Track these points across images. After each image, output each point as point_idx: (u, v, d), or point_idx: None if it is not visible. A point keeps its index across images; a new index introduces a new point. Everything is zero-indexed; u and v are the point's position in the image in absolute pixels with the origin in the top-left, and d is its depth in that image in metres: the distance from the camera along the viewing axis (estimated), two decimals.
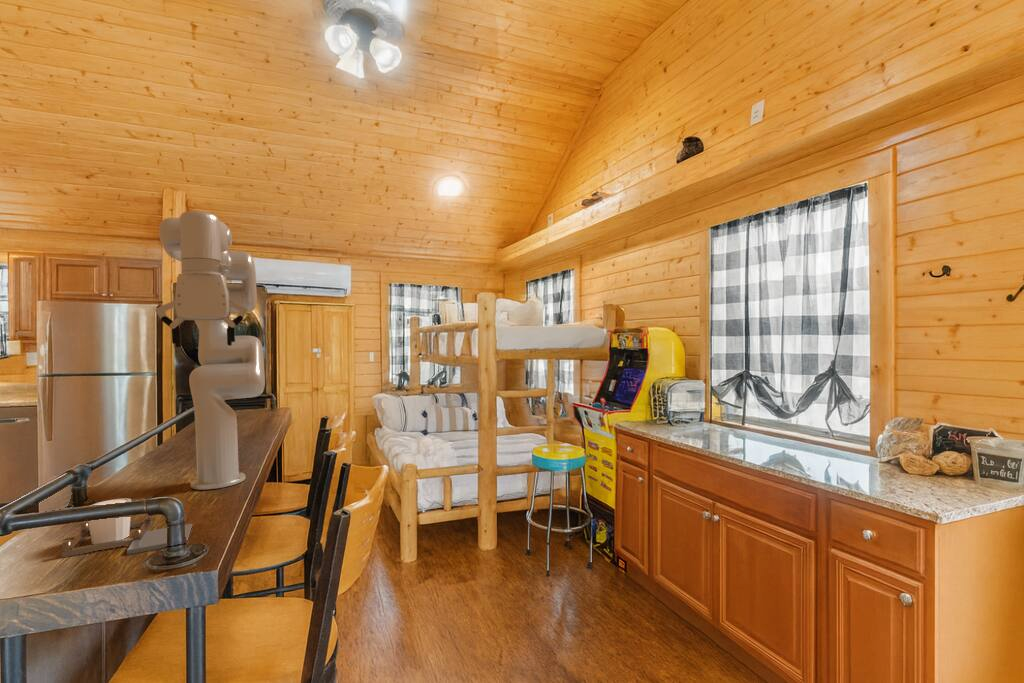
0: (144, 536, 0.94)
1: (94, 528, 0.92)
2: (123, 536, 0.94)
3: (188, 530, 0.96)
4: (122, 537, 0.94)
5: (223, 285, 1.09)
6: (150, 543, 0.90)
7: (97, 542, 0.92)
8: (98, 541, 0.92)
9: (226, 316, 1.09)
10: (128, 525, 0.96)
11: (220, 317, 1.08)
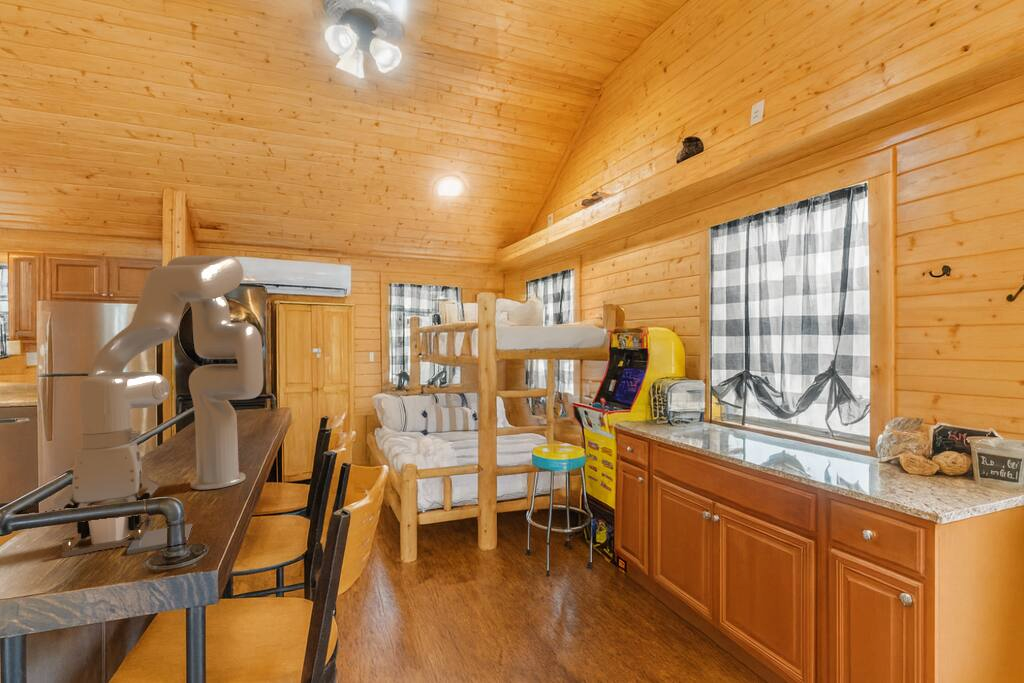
0: (144, 536, 0.94)
1: (94, 528, 0.92)
2: (123, 536, 0.94)
3: (188, 530, 0.96)
4: (122, 537, 0.94)
5: (131, 458, 0.95)
6: (150, 543, 0.90)
7: (97, 542, 0.92)
8: (98, 541, 0.92)
9: (135, 493, 0.95)
10: (128, 525, 0.96)
11: (128, 495, 0.94)
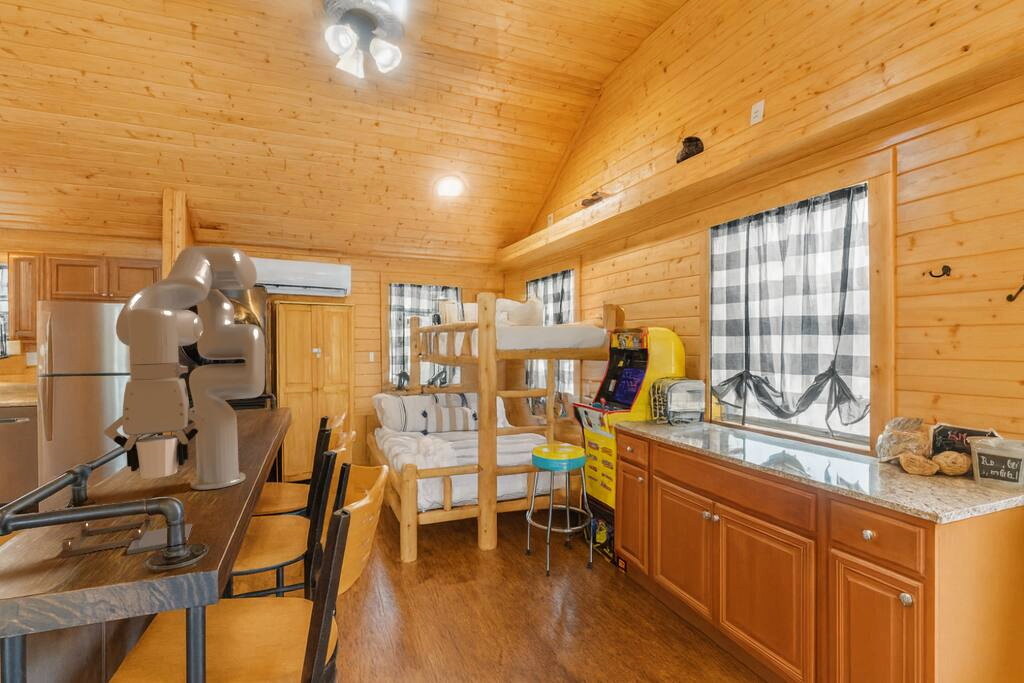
0: (144, 536, 0.94)
1: (144, 460, 0.90)
2: (172, 471, 0.93)
3: (188, 530, 0.96)
4: (171, 471, 0.93)
5: (180, 392, 0.93)
6: (150, 543, 0.90)
7: (147, 475, 0.90)
8: (148, 474, 0.90)
9: (184, 427, 0.94)
10: (176, 460, 0.94)
11: (177, 429, 0.93)
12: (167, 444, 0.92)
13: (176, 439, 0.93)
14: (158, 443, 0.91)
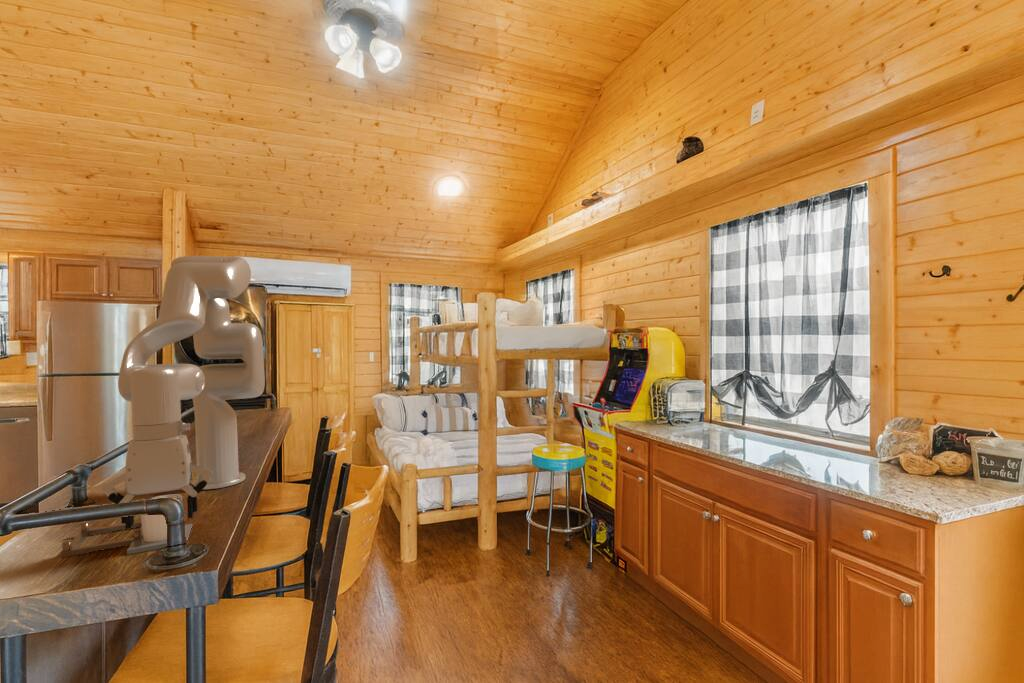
0: None
1: (147, 524, 0.91)
2: None
3: (188, 530, 0.96)
4: None
5: (183, 450, 0.93)
6: (150, 543, 0.90)
7: (150, 538, 0.91)
8: (151, 537, 0.91)
9: (186, 485, 0.94)
10: None
11: (179, 488, 0.93)
12: None
13: (179, 500, 0.94)
14: None
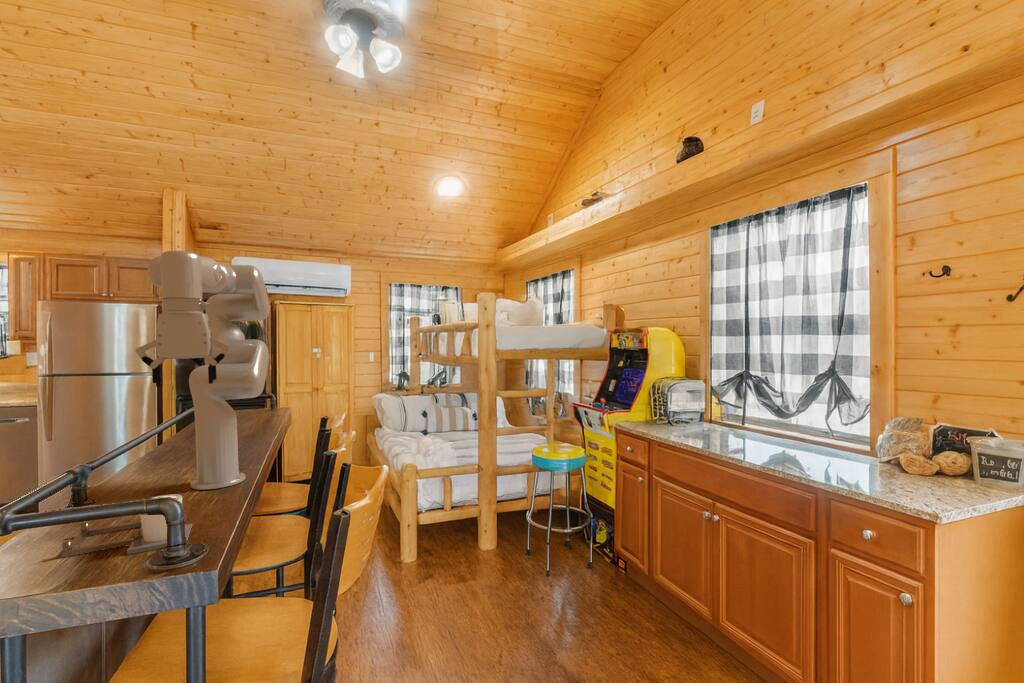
0: None
1: (147, 524, 0.91)
2: None
3: (188, 530, 0.96)
4: None
5: (204, 324, 1.09)
6: (150, 543, 0.90)
7: (150, 538, 0.91)
8: (151, 537, 0.91)
9: (207, 354, 1.09)
10: None
11: (201, 356, 1.08)
12: None
13: (179, 500, 0.94)
14: None
